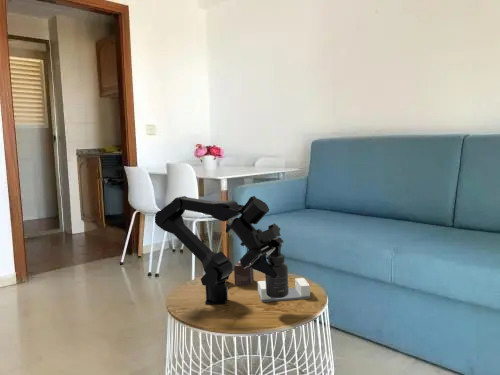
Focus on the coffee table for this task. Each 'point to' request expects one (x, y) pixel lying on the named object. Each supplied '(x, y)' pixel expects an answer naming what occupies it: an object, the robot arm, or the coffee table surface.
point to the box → (243, 275)
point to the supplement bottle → (277, 277)
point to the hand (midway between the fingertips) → (280, 273)
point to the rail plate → (294, 293)
